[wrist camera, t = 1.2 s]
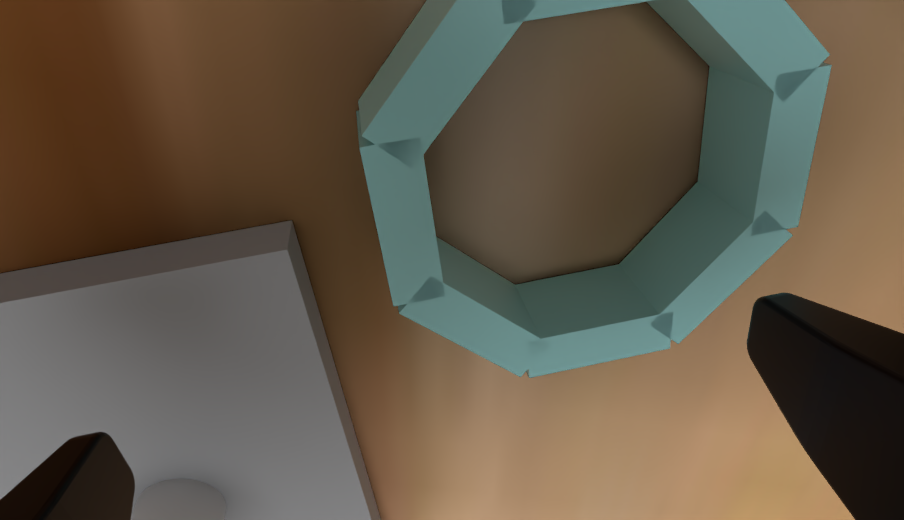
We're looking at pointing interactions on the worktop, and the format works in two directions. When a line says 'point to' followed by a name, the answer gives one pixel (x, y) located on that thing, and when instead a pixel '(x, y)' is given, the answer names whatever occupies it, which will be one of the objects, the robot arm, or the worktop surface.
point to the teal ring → (663, 249)
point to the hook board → (185, 378)
